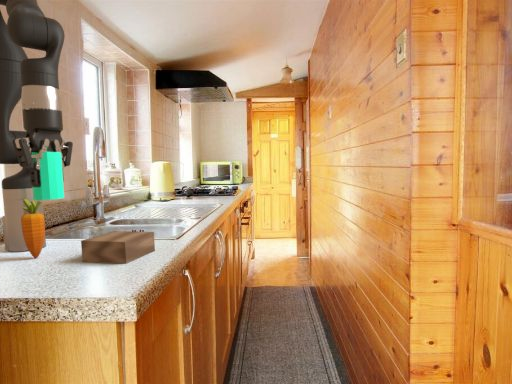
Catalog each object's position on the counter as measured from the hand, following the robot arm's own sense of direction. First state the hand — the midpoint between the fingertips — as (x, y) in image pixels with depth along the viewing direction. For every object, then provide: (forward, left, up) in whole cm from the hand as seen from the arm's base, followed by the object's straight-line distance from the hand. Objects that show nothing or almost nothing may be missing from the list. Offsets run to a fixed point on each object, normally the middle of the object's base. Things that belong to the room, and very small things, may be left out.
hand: (48, 185), depth 78 cm
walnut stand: (+10, +10, -18) cm, 23 cm away
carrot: (-11, +5, -19) cm, 22 cm away
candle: (0, 0, -3) cm, 3 cm away
